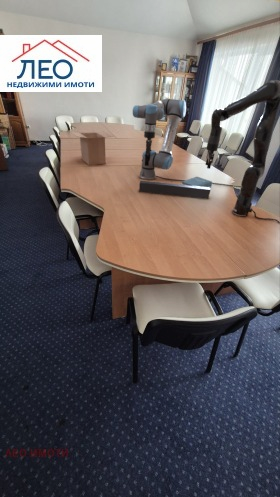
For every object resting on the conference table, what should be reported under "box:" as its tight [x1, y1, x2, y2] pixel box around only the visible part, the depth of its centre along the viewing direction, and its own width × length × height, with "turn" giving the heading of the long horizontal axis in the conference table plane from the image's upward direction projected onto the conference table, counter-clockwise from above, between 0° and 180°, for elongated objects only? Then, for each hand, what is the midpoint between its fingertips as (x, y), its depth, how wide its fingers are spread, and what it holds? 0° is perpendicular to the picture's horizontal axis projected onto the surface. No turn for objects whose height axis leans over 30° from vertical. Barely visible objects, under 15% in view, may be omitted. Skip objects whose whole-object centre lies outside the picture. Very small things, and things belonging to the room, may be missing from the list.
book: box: [181, 176, 213, 188], centre depth 191 cm, size 23×16×5 cm
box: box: [70, 129, 114, 166], centre depth 229 cm, size 44×36×27 cm
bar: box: [138, 180, 211, 200], centre depth 175 cm, size 55×5×8 cm, turn 84°
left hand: (147, 163), depth 165 cm, fingers open, 13 cm apart
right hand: (207, 166), depth 162 cm, fingers open, 8 cm apart
